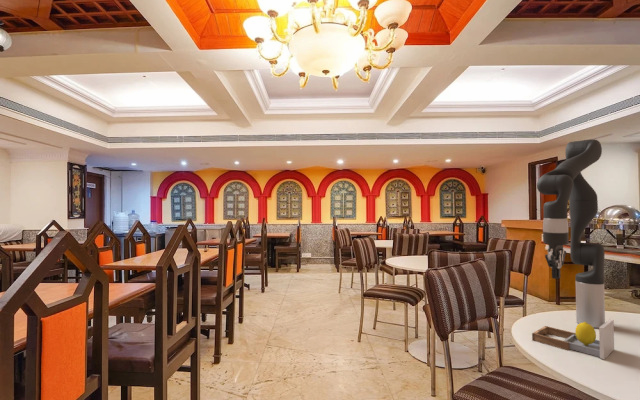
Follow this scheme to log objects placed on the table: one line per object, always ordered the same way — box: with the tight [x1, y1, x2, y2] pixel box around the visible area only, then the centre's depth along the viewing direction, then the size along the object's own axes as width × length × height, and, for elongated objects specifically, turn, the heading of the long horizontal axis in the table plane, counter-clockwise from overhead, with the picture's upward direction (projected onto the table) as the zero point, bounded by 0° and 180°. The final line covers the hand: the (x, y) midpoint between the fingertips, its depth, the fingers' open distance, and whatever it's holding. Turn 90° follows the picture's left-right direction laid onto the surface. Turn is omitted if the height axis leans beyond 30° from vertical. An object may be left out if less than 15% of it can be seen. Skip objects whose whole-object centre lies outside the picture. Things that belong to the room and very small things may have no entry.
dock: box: [531, 325, 576, 351], centre depth 122 cm, size 12×11×2 cm
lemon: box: [574, 322, 597, 346], centre depth 116 cm, size 6×6×8 cm
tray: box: [563, 318, 615, 360], centre depth 115 cm, size 12×11×10 cm
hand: (556, 278), depth 122 cm, fingers closed
